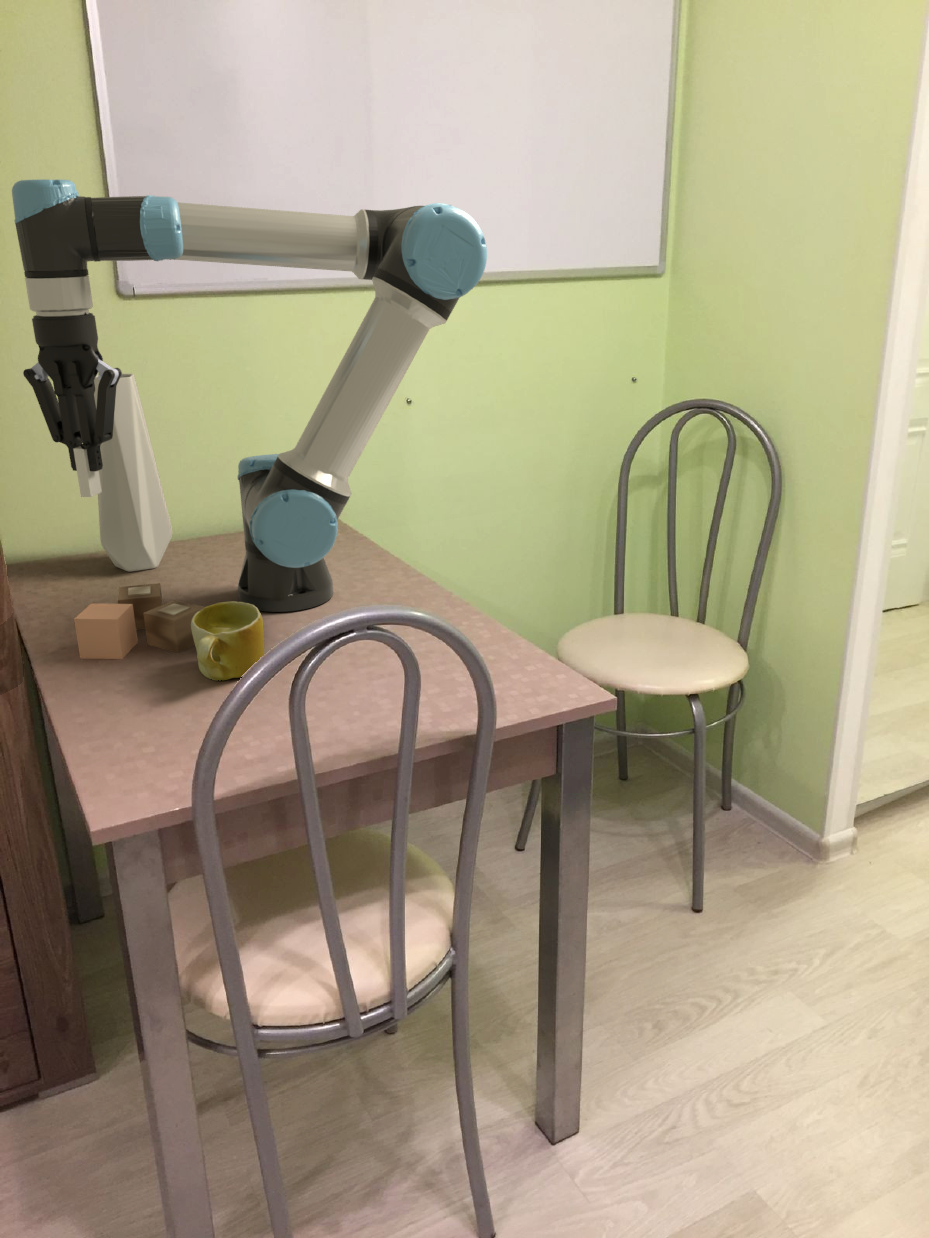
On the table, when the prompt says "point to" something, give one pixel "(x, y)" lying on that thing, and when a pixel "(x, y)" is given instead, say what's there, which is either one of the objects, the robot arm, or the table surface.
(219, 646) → the mug
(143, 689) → the table surface
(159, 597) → the walnut block
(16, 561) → the table surface
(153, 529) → the vase
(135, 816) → the table surface
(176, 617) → the walnut block
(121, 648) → the plain block
